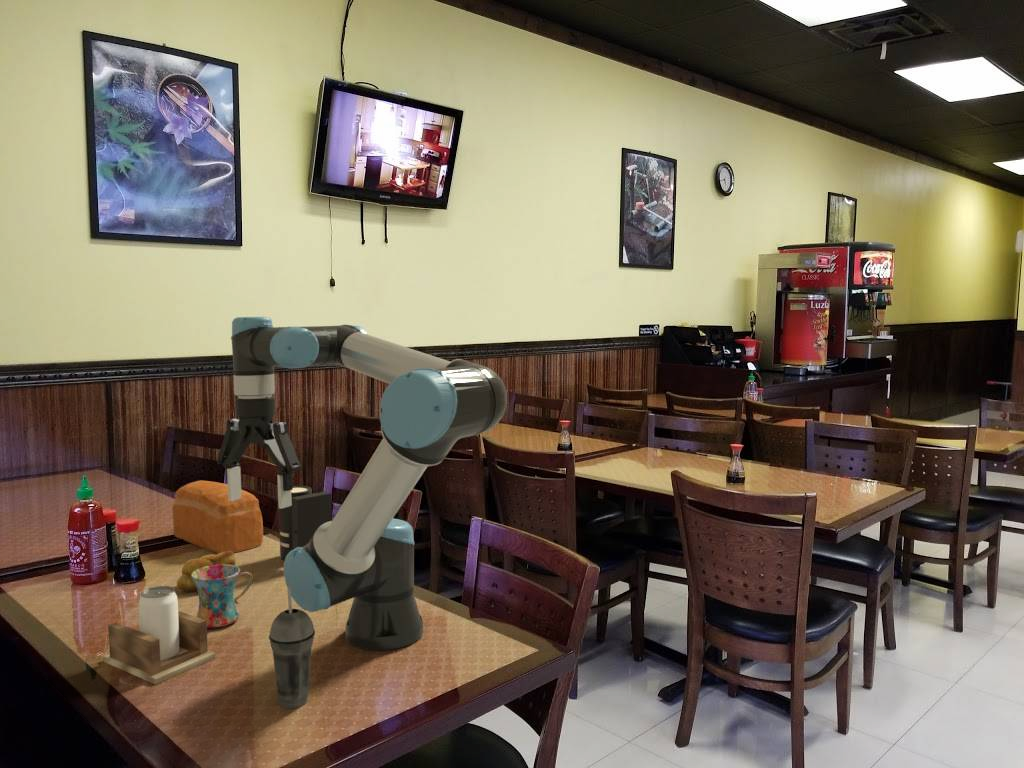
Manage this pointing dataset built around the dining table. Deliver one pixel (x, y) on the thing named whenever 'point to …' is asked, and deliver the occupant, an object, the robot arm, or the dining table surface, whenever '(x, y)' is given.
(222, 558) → the ginger root
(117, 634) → the caddy
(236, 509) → the bread
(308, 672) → the beverage cup
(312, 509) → the light fixture
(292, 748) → the dining table surface
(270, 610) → the dining table surface
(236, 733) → the dining table surface
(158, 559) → the dining table surface
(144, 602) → the can
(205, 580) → the mug
